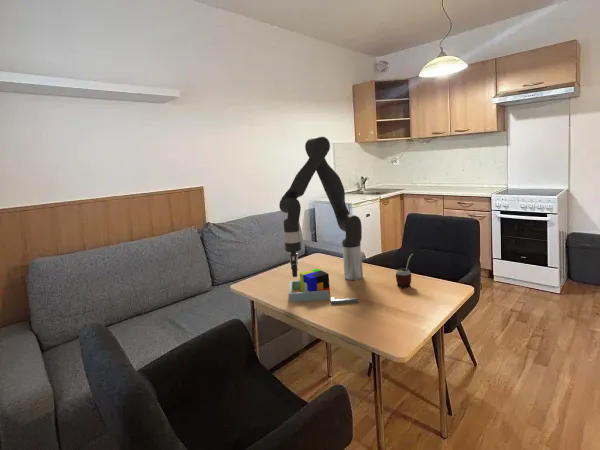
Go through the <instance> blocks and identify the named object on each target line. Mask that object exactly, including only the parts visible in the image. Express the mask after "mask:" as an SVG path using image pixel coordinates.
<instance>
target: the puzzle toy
mask: <svg viewBox="0 0 600 450" xmlns="http://www.w3.org/2000/svg"><path fill="white" fill-rule="evenodd" d="M299 279H300V282H301V289H300V290H301V292H310V291H322V290H329V295H330V294H331V289H330V276H329V273H328V272H325V271H324V270H321V269H319V268H314V269H312V270H307V271H304V272H300V273H299Z"/></svg>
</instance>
